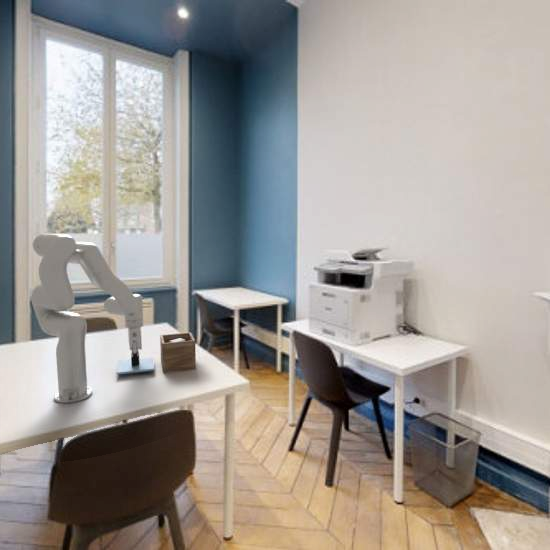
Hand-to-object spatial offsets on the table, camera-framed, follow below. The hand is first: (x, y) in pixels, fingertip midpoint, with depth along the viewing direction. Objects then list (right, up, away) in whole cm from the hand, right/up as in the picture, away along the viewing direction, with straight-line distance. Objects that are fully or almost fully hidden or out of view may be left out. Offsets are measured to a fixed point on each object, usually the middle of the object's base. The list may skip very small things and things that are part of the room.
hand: (135, 363), depth 171 cm
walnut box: (+17, -2, +7) cm, 18 cm away
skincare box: (+17, -3, +7) cm, 18 cm away
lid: (0, -1, 0) cm, 1 cm away
